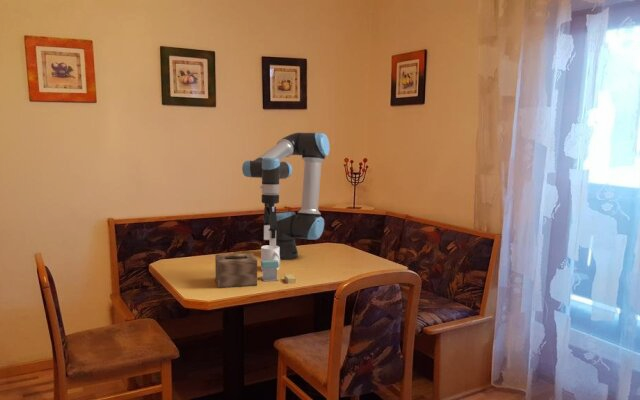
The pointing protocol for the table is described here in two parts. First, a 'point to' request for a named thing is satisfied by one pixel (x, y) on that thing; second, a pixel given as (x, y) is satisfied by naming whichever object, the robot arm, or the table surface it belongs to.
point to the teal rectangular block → (269, 263)
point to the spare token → (289, 278)
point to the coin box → (236, 270)
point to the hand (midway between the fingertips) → (269, 242)
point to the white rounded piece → (270, 254)
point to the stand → (269, 274)
